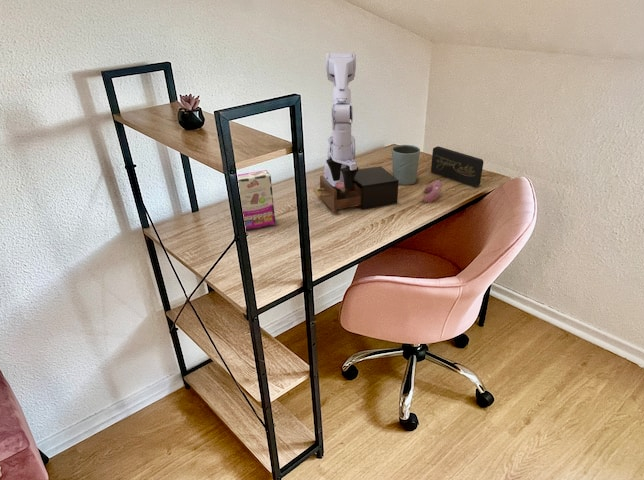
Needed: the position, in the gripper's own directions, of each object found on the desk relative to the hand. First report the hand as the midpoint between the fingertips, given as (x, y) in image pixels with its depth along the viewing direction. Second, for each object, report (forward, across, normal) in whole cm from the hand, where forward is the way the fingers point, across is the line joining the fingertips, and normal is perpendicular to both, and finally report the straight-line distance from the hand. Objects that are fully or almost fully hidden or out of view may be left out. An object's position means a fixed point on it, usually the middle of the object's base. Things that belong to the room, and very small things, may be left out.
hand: (342, 184), depth 162 cm
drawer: (+7, 0, +1) cm, 7 cm away
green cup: (+7, +6, -30) cm, 31 cm away
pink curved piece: (+7, -12, -29) cm, 32 cm away
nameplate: (+7, -3, -47) cm, 48 cm away
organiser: (+7, -2, -10) cm, 13 cm away
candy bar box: (+7, 0, +31) cm, 32 cm away
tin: (+5, 0, 0) cm, 5 cm away
